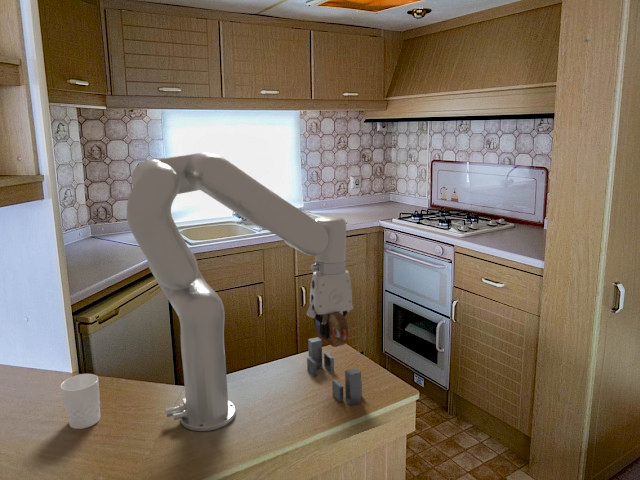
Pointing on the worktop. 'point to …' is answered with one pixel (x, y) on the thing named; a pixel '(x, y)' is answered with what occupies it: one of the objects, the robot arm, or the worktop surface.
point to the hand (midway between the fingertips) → (330, 335)
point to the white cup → (81, 400)
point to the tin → (334, 329)
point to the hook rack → (351, 376)
